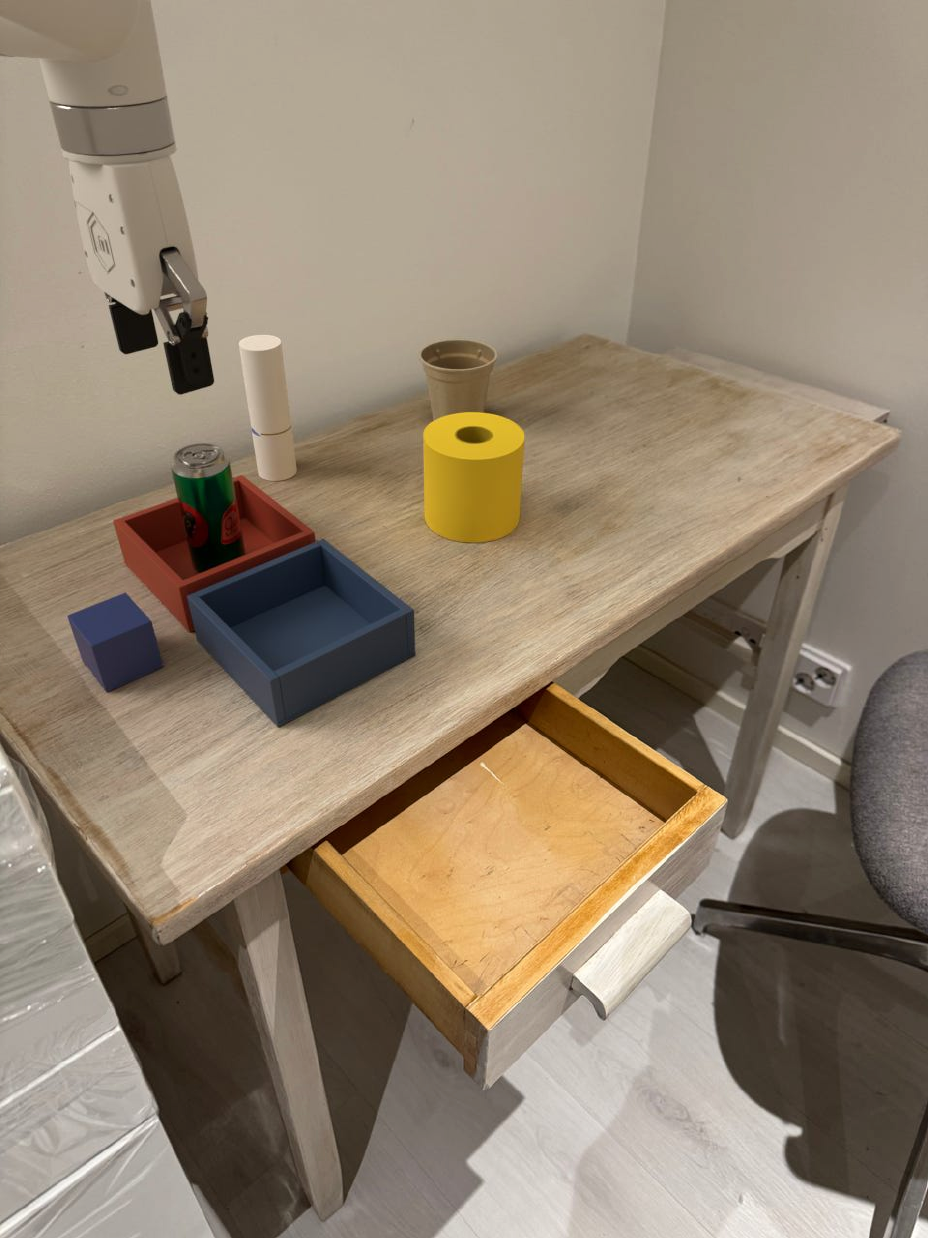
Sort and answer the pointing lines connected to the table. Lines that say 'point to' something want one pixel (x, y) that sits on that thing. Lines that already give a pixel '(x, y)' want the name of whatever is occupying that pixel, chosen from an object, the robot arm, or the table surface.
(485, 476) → the tape roll
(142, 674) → the blue block
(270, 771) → the table surface
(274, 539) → the red bin
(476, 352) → the flower pot
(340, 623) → the blue bin
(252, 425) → the tube
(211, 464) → the soda can
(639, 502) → the table surface
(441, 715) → the table surface
